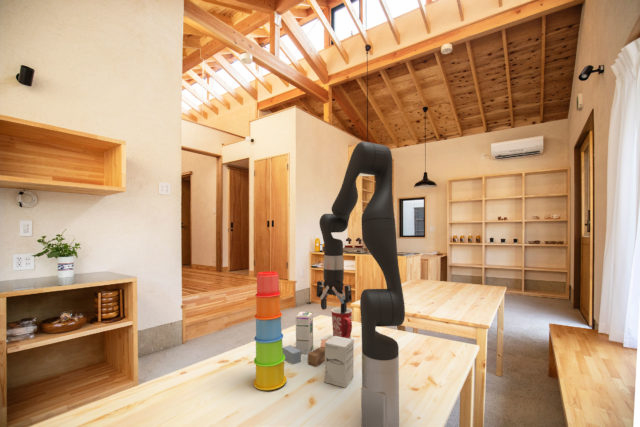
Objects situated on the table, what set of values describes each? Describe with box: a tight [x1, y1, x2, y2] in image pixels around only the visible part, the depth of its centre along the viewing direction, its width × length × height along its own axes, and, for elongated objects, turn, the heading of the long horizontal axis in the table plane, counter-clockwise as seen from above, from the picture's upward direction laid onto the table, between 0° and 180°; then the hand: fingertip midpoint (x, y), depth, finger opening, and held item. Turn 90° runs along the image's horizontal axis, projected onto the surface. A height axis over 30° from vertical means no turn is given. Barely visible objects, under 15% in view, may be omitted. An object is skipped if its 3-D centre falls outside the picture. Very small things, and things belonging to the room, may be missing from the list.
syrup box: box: [295, 311, 314, 355], centre depth 117 cm, size 6×6×14 cm
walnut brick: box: [307, 347, 325, 368], centre depth 106 cm, size 7×4×4 cm, turn 145°
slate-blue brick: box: [283, 344, 302, 365], centre depth 108 cm, size 7×4×4 cm, turn 41°
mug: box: [331, 307, 353, 339], centre depth 124 cm, size 13×9×14 cm
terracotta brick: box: [320, 339, 329, 349], centre depth 114 cm, size 7×4×4 cm, turn 176°
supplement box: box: [324, 336, 355, 389], centre depth 94 cm, size 7×7×13 cm
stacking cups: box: [253, 270, 288, 392], centre depth 93 cm, size 10×10×35 cm
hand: (333, 311), depth 108 cm, fingers open, 8 cm apart
